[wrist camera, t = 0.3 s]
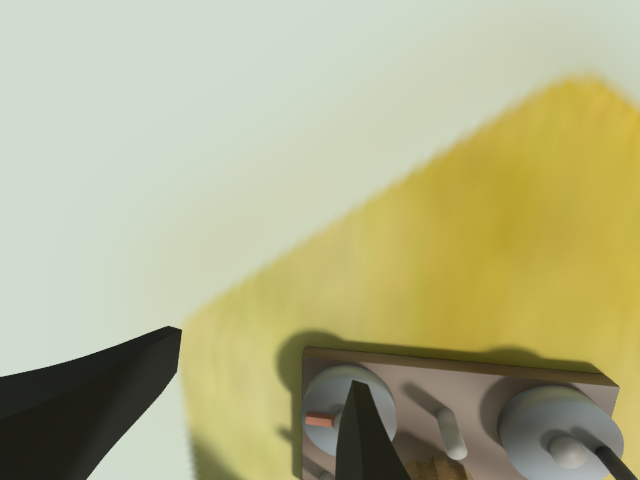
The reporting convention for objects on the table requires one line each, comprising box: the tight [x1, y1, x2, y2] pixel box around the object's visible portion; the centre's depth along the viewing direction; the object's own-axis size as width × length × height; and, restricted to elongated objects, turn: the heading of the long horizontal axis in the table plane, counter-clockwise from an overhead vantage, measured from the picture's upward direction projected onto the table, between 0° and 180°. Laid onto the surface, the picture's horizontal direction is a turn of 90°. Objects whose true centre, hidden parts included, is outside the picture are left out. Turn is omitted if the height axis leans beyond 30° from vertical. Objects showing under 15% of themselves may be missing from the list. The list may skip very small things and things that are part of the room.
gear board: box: [301, 347, 638, 480], centre depth 20 cm, size 13×20×5 cm, turn 89°
